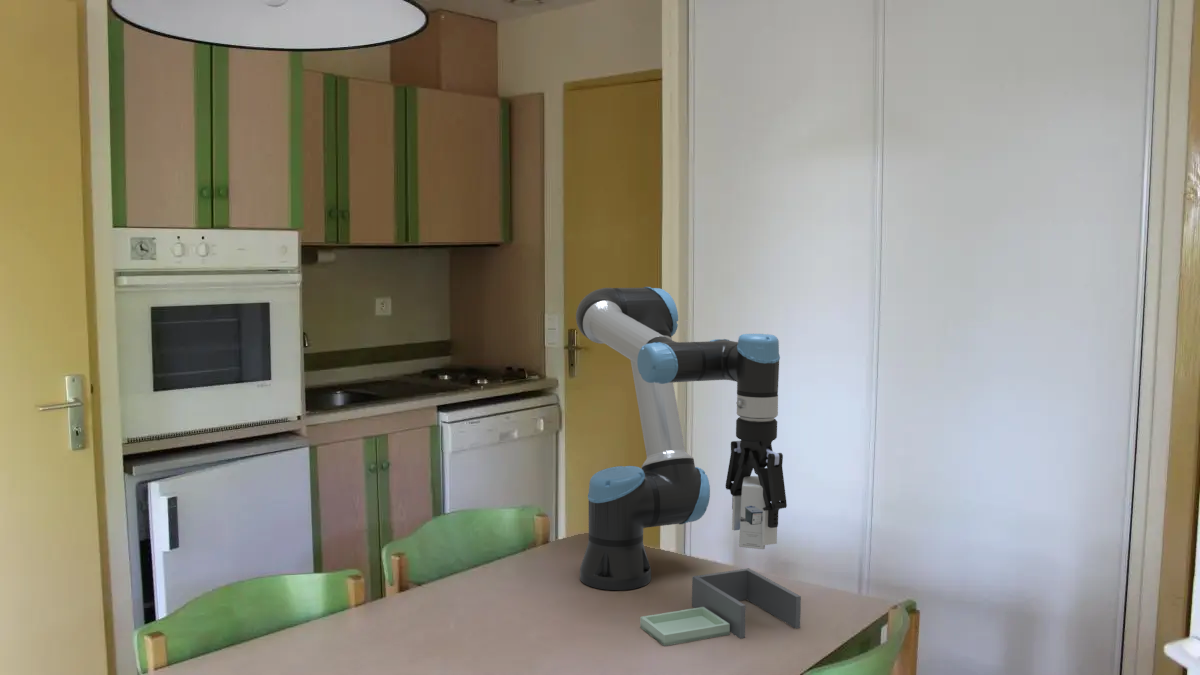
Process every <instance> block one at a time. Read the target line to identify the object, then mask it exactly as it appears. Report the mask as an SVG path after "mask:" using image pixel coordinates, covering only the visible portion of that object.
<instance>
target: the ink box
mask: <svg viewBox="0 0 1200 675" xmlns="http://www.w3.org/2000/svg"><path fill="white" fill-rule="evenodd" d="M764 507H766V506H765V502H764V498H763V488H762V486H760V482H759V478H758V475H751V476H749V477H744V479H743V484H742V496H741V514H740V530H739V538H738V539H739V540H738V541H739V544H738V548H743V549H744V548H745V549H747V548H748V549H757V550H765V549H766V545H763V544H762V521H763V508H764Z"/></svg>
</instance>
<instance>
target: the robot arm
mask: <svg viewBox="0 0 1200 675" xmlns="http://www.w3.org/2000/svg"><path fill="white" fill-rule="evenodd" d="M575 320H576V321H575V322H576V325H577V328H578V330H579V332H580V333H581V334H582V335H583V336H584V337H586V338H587V339H589V341H591V342H593V343H597V344H601V345H602V344H605V345H607V346H608V347H609V348H611V349H613V350H615V351H616V352H618V353H619V354H621V355H622V356H624V357H625V358H627V359H629V360H630V365H631V369H632V376H633V377H632V378H633V382H634V388H635V394H636V395H635V396H636V401H637V406H638V412H639V419H640V425H641V432H642V437H643V441H644V442H643V443H644V448H645V453H646V459H645V460H644V462H643V464H642V465H641V467H639V466H635V465H626V466H623V465H620V466H618V465H617V466H613V467H612V466H611V467H608V468H604V469H601V470H599V471H597V472H595V473H594V474H593V475H592V476H591V478H590V479H589V486H588V487H589V488H588V493H587V500H588V541H587V546H586V548H585V549H586V550H585V551H584V555H583V558H582V561H581V564H580V567H579V580H580V581H581V583H583V584H584V585H587V586H589V587H591V588H595V589H601V590H607V591H626V590H634V589H638V588H642V587H645V586H647V585H648V584H650V582H651V581H652V569H651V568H652V567H651V564H650V562H649V559H648V555H647V552H646V548H645V545H644V529H645V528H654V527H661V526H662V527H664V526H671V525H684V524H686V523H692V522H697V521H698V520H700V519H702V517H703V516H704V515H705V514H706V511H707V509H708V507H709V502H710V497H711V485H710V480H709V478H708V475H707V474H706V472H705V470H704V469H702V468H701V467H698V466H696V465H695V459H694V457H693V456H692V455H691V454H689V453H688V452H686V448H685V442H684V437H683V431H682V425H681V421H680V420H681V419H680V415H679V408H678V403H677V399H676V392H675V387H674V386H675V385H674V383H686V382H687V383H689V382H705V381H706V382H710V381H733V382H736V396H737V397H736V414H737V416H738V417H737V419H735V420H736V421H735V437H736V438H737V439H739V440H732V441H731V442H730V456H729V457H730V458H729V463H728V469H727V474H726V481H725V489H726V490H729V491H730V492H729V493H730V494H731V496H732V498H731V499H732V502H731V505H732V506H731V510H732V518H731V520H732V522H731V524H732V527H731V529H732V530H733V531H740V514H741V496H742V484H743V479H744V477H749V476H752V473H753V471H754V473H755V474H756V476H758V478H759V482H760V486H762V488H763V498H764V502H765V506H766V507H764V508H763V521H762V544H763V545H765V546H770V545H776V544H778V539H777V538H778V527H779V510H782V509H787V506H788V504H787V496H786V488H785V487H786V486H785V478H784V470H783V462H784V461H783V459H784V455H783V453H782V452H775V451H773V446H772V443H773V442H774V441H775V440H776V439H777V438H778V421H777V419H776V418H777V417H778V416H779V393H778V392H779V377H780V376H779V375H780V359H781V356H780V349H779V348H780V347H779V346H780V341H779V338H778V337H777V336H776V335H773V334H769V333H767V334H764V333H743V334H741V335H739V336H738V339H737V341H733V340H730V339H725V338H723V339H711V340H707V341H682V342H681V341H680V342H679V341H675V340H673V336H674V335H675V334H676V332H677V330H678V328H679V324H678V321H679V312H678V307H677V305H676V302H675V300H674V299H673V297H672V295H671V294H670V293H669V292H667V291H666V290H665V289H662V288H659V287H651V286H644V287H602V288H599V289H595V290H592V291H591V292H590V293H587V295H585V296H584V297H583V298H582V299H581V301H580V302H579V304H578V306H577V309H576V313H575Z"/></svg>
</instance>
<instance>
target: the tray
mask: <svg viewBox="0 0 1200 675" xmlns="http://www.w3.org/2000/svg"><path fill="white" fill-rule="evenodd" d="M639 618H640V622H639V623H640V625H639V626H640V627H639V628H641V630H643V631H644V632H646V633H647V634H648V635H649V636H651V638H653V639H654V640H656V642H659V644H661V645H662V646H664V647H667V646H675V645H678V644H684V643H690V642H696V641H701V640H706V639H712V638H718V637H723V636H729V635H730V634H731V632H730V624H729V623H728V622H726V621H725V620H723V619H721V618H720V617H718V616H717V615H715V614H714V613H712V612H711V611H709V610H708V609H706V608H705V607H699V608H694V607H692V608H686V609H680V610H675V611H668V612H663V613H661V612H660V613H655V614H649V615H643V616H640V617H639Z"/></svg>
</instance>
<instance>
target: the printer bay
mask: <svg viewBox="0 0 1200 675" xmlns="http://www.w3.org/2000/svg"><path fill="white" fill-rule="evenodd" d="M691 578H692V579H691V581H692V582H691V584H692V585H691V586H692V587H691V607H692V608H699V607H705V608H706V609H708V610H709V611H711V612H712V613H714V614H715V615H717V616H718V617H720V618H721V619H723V620H725V621H726V622H728V623H729V624H730V634H732V635H734V636H736V637H737V638H739V639H740V640H741V639H745V638H746V611H747V610H746V608H747V606H746V604H744V603H742V602H741V601H746V600H747V602H749V603H752V604H753V605H755V606H756V607H758V608H759V609H762V610H763V609H764V612H767V613H768V612H769V614H770V613H771V616H773V615H774V616H773V617H775V618H777V619H779V620H780V621H782V622H783V623H785V622H786V624H787V625H789V626H790V625H791V626H790V627H792V628H793V629H795V628H796V629H800V628H801V608H802V607H801V606H802V602H801V601H802V596H801V595H799V594H797V593H796V592H794V591H792V590H790V589H788V588H786V587H785V586H782V585H781V584H780V583H776V581H773V580H771V579H769V578H767V577H766V576H764V575H762V574H760V573H758V572H756V571H755V570H753V569H751V568H741V569H735V570H734V569H733V570H727V571H721V572H713V573H706V574H700V575H699V574H698V575H693V576H691Z"/></svg>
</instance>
